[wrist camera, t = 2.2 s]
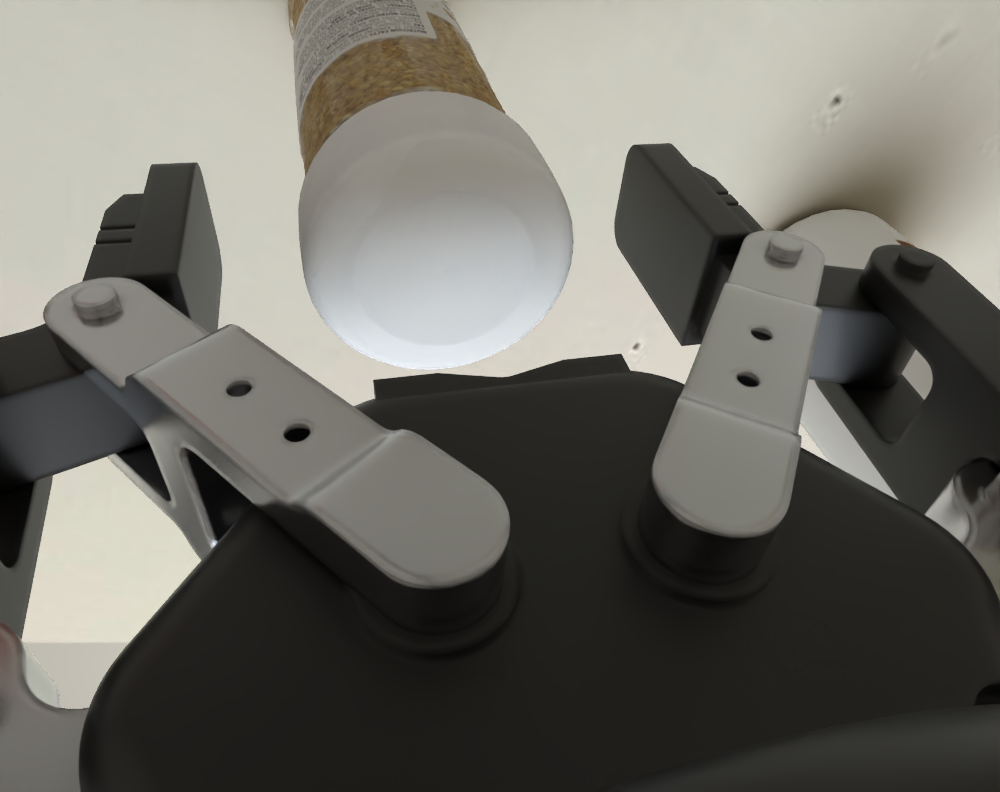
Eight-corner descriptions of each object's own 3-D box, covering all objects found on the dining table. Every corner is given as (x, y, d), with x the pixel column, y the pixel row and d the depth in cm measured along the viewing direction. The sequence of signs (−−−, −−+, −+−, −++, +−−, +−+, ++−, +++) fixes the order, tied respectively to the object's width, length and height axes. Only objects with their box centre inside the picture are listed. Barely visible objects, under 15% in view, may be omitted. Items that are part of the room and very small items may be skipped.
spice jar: (456, 75, 23) (590, 341, 13) (316, 112, 23) (353, 407, 13) (422, -93, 20) (567, 104, 10) (258, -52, 19) (253, 187, 10)
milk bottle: (713, 359, 35) (1011, 803, 21) (742, 219, 29) (1171, 694, 15) (858, 329, 36) (1236, 735, 22) (912, 188, 30) (1461, 610, 16)
